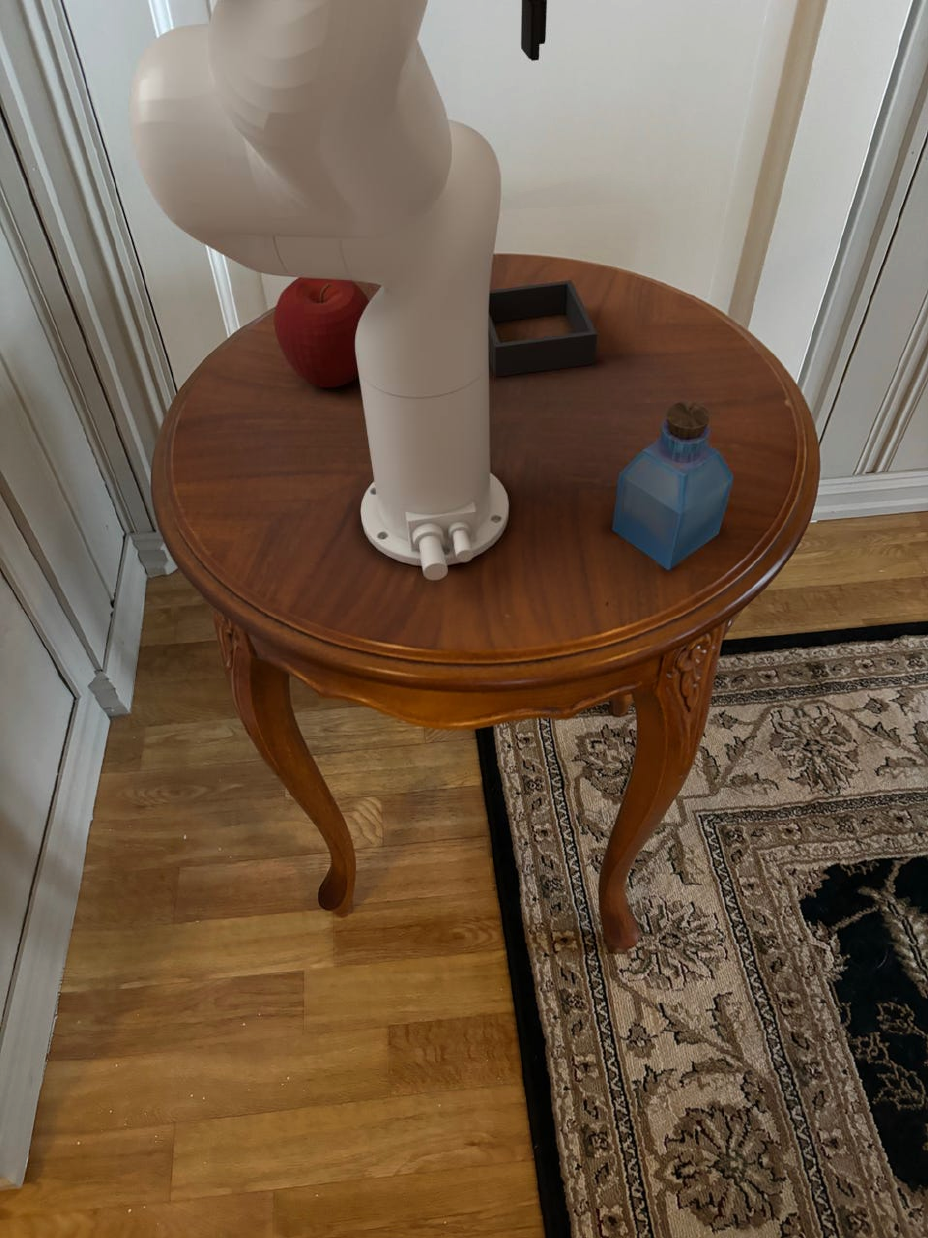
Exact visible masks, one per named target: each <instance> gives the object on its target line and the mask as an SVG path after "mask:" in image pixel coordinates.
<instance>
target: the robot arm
mask: <svg viewBox="0 0 928 1238" xmlns="http://www.w3.org/2000/svg"><path fill="white" fill-rule="evenodd" d="M428 3H429V0H216V1H215V5H214V7H213V10H212V13H211V16H210V20H209V23H199V24H197V23H196V24H189V25H183V26H178V27H175V28H172V29H169V30H167V31H165V32H164V33H162V34H160V35H159V36H158V37H156V38H155V39H154V40H153V41H151V42H150V44H149V45H148V46H147V48H146V49H145V50H144V52H143V53H142V55H141V57H140V59H139V61H138V64H137V65H136V67H135V70H134V73H133V77H132V81H131V84H130V92H129V99H128V100H129V101H128V103H129V104H128V113H129V114H128V118H129V127H130V128H129V129H130V135H131V136H130V137H131V140H132V146H133V151H134V154H135V157H136V161H137V163H138V166H139V168H140V171H141V174H142V176H143V179H144V182H145V183H146V186H147V188H148V189H149V191H150V194H151V196H152V197H153V199H154V200H155V202H156V204H157V205H158V206H159V207H160V209H161V210H162V212H163V213H164V215H165V216H166V217H167V218H168V219H169V220H170V221H171V222H172V223H173V224H174V225H175V226H176V227H177V228H178V229H180V230H181V231H182V232H183V233H185V234H187V235H188V236H190V237H192V238H193V239H194V240H197V241H199V242H200V243H201V244H204V245H205V246H207V247H208V248H210V249H212V250H214V251H215V252H218V253H219V254H221V255H223V256H225V257H226V258H228V259H230V260H232V261H233V262H235V263H237V264H238V265H241V266H242V267H245V268H247V269H249V270H252V271H254V272H257V273H261V274H265V275H269V276H276V277H278V276H279V277H290V278H299V277H302V278H319V279H336V280H350V281H352V282H354V281H355V282H356V283H357V282H358V283H368V284H376V285H378V286H380V287H379V289H378V290H377V291H376V292H375V294H374V295H373V297H371V299H370V300H369V304H368V305H367V307H366V308H365V310H364V312H363V314H362V316H361V318H360V320H359V323H358V327H357V331H356V337H355V352H356V359H357V366H358V372H359V376H358V379H359V385H360V391H361V392H360V393H361V398H362V406H363V413H364V419H365V427H366V433H367V439H368V440H367V441H368V446H369V447H368V448H369V453H370V461H371V467H372V472H373V474H372V475H373V482H372V483H371V484H370V485H369V487H368V488H367V490H366V491H365V493H364V495H363V498H362V500H361V505H360V516H361V518H360V519H361V524H362V527H363V531H364V534H365V536H366V537H367V539H368V541H369V542H370V543H371V544H372V545H373V546H374V547H375V548H376V549H377V550H378V551H379V552H381V553H382V554H384V555H385V556H387V557H389V558H391V559H394V560H396V561H398V562H401V563H405V564H408V565H411V566H420V567H421V568H422V569H421V570H422V573H423V577H424V578H426V580H429V581H439V580H441V579H443V578H445V577H446V576H447V575H448V572H449V569H448V568H449V567H448V566H449V565H456V564H459V563H467V562H470V561H471V560H472V559H474V558H475V557H477V556H479V555H481V554H483V553H484V552H485V551H487V550H488V549H490V548H491V547H492V546H494V544H495V543H496V542H497V541H498V540H499V539H500V538H501V536H502V535H503V533H504V532H505V529H506V527H507V524H508V521H509V515H510V514H509V513H510V512H509V511H510V503H509V498H508V497H509V496H508V493H507V491H506V489H505V487H504V485H503V484H502V482H501V481H500V480H499V478H497V476H495V475H494V474H493V473H492V472H491V440H490V439H491V438H490V437H491V436H490V434H491V433H490V430H491V429H490V428H491V427H490V369H489V368H490V366H489V365H490V360H489V357H488V310H489V290H491V289H490V288H491V287H490V286H491V278H492V269H493V261H494V253H495V247H496V240H497V233H498V227H499V226H498V225H499V219H500V212H501V202H502V201H501V199H502V175H501V168H500V163H499V160H498V157H497V155H496V152H495V150H494V148H493V147H492V145H491V144H490V142H489V141H488V140H487V139H486V137H485V136H484V135H482V134H481V133H480V132H479V131H477V130H476V129H474V128H473V127H471V126H468V125H467V124H465V123H463V122H459V121H457V120H454V119H449V118H448V114H447V110H446V107H445V104H444V101H443V98H442V96H441V93H440V91H439V88H438V86H437V84H436V81H435V79H434V76H433V74H432V71H431V68H430V66H429V63H428V62H427V59H426V56H425V54H424V51H423V49H422V46H421V45H420V42H419V40H418V38H419V34H420V30H421V27H422V23H423V20H424V17H425V13H426V10H427V6H428ZM547 8H548V0H521V17H520V18H521V23H520V24H521V27H520V49H521V50H522V52H523V53H524V54H525V56H526V58H528V60H531V61H532V62H533V61H539V59H540V46H541V45H544V44H545V43H546V37H547V12H548V9H547Z"/></svg>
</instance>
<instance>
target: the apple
mask: <svg viewBox="0 0 928 1238" xmlns="http://www.w3.org/2000/svg"><path fill="white" fill-rule="evenodd" d="M369 302H370V300H369V299H368V296H367V294H366V293H365V292H364V291H363V289H361V288H360V286H358V285H357V284H356V283H355V282H354V281H353V280H336V279H319V278H302V277H296V279H294V280H293V281H292V282H291V283H290V284H289V285H288V286H286V288H285V289H283V291H282V292H281V294H280V295H279V297H278V300H277V303H276V305H275V307H274V316H273V327H274V332H275V333H274V334H275V336H276V340H277V342H278V345H279V348H280V350H281V352H282V354H283V356H284V357H285V359H286V361H287V363H288V364H289V365H290V367H291V369H293V371H294V372H295V373H296V375H298V376H299V377H300V378H301V379H302V380H303V381H305V382H306V383H308V384H310V385H312V386H314V387H318V388H328V389H329V388H336V387H342V386H345V385H347V384H350V383H351V382H353V381H354V380H356V379H357V378H359V372H358V366H357V359H356V352H355V337H356V331H357V327H358V323H359V320H360V318H361V316H362V314H363V312H364V310H365V308H366V307H367V305H368V304H369Z"/></svg>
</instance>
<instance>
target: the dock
mask: <svg viewBox="0 0 928 1238" xmlns="http://www.w3.org/2000/svg"><path fill="white" fill-rule="evenodd" d="M564 314H565V315H566V318H567V320H568V322H569V324H570V327H571V328H572V331H573V333H567V334H566V333H565V334H559V335H550V336H544V337H537V338H530V339H528V338H527V339H521V340H520V339H519V340H513V341H505V342H500V339H499V337H498V333H497V332H496V328H495V325H494V324H495V323H503V322H510V321H518V320H519V321H520V320H525V319H535V318H542V317H549V316H557V315H564ZM597 341H598V332H597V330H596V328H595V325H594V324H593V322H592V320H591V318H590V316H589V314H588V312H587V310H586V308H585V305H584V303H583V301H582V299H581V297H580V295H579V293H578V291H577V289H576V287H575V285H574V283H573V280H571V279H569V280H562V281H554V282H553V281H552V282H545V283H538V284H537V283H536V284H530V285H523V286H522V285H521V286H513V287H506V288H498V289H490V290H489V310H488V357H489V364H490V365H491V368H492V371H493V374H494V377H495V378H500V377H501V378H502V377H510V376H516V375H522V374H523V375H524V374H530V373H537V372H538V373H539V372H545V371H553V370H561V369H568V368H575V367H583V366H589V365H590V366H591V365H595V363H596V353H597V343H598V342H597Z"/></svg>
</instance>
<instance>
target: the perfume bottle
mask: <svg viewBox="0 0 928 1238" xmlns="http://www.w3.org/2000/svg"><path fill="white" fill-rule="evenodd" d="M710 421H711V412H710V411H709V410H708V409H707V408H706V407H705V406H704V405H702V404H699V403H697V402H692V401H679V402H675V403H674V404H671V405H670V406H669V407H668V408H667V410H666V419H664V421H663V423H662V425H661V430H660V439H658V440H656V441H655V442H653V443H652V444H650V445H648V446H647V447H645V448H644V449H643V450H642V451H640V452H639V454H637V456H635V458H634V459H632V461H630V462H629V464H628V465H627V466H626V467H625V468H623V470H622V471H621V472H620V473H619V476H618V483H617V493H616V499H615V506H614V513H613V520H612V529H611V531H613V532H614V533H615V534H618V535H619V536H620V537H621V538H622V539H624V540H625V541H626V542H628V543H629V544H631V545H632V546H634V547H635V548H636V549H638V550H639V551H641V552H642V553H643V554H645V555H646V556H647V557H649V558H650V559H652V560H653V561H654V562H655V563H657V564H658V565H660V566H661V567H663V568H664V569H666V570H667V571H670V570H672V569H673V568H674V567H675V566H677V565H678V564H680V563H681V562H683V561H684V560H685V559H686V558H688V557H689V556H691V555H692V554H693V553H695V552H696V551H698V549H700V548H701V547H703V546H704V545H705V544H707V543H708V542H710V541H711V540H713V539H714V538H715V537H716V536H718V535H720V531H721V527H722V523H723V519H724V516H725V511H726V507H727V505H728V504H727V503H728V501H729V496H730V493H731V489H732V485H733V481H734V477H735V476H734V475H733V473H732V471H731V470H730V468H729V466H728V464H727V463H726V460H725V459H724V458H723V456H722V454H721V453H720V451H719V450H717V449H716V448H714V447H712V446H711V445H710V444H707V442H708V440H709V435H710V426H709V422H710Z"/></svg>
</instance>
